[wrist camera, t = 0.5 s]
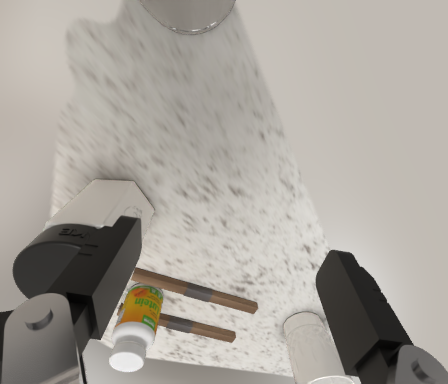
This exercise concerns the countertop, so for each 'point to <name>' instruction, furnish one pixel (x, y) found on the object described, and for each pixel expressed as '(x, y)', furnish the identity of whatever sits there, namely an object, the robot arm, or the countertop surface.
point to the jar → (77, 231)
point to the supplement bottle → (136, 327)
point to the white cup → (313, 351)
